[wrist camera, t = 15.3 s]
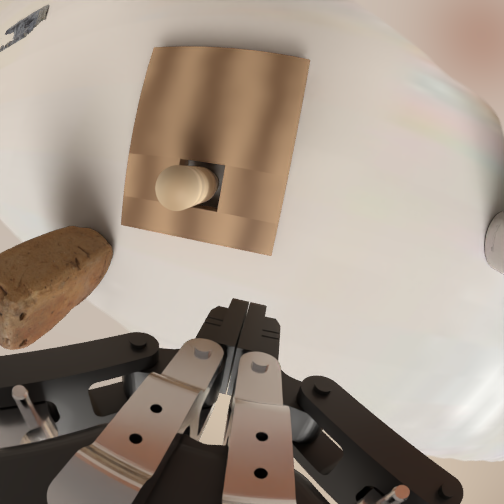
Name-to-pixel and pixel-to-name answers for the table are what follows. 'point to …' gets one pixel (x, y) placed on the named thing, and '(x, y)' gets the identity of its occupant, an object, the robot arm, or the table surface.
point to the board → (216, 141)
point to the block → (48, 281)
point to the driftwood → (25, 26)
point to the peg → (185, 186)
